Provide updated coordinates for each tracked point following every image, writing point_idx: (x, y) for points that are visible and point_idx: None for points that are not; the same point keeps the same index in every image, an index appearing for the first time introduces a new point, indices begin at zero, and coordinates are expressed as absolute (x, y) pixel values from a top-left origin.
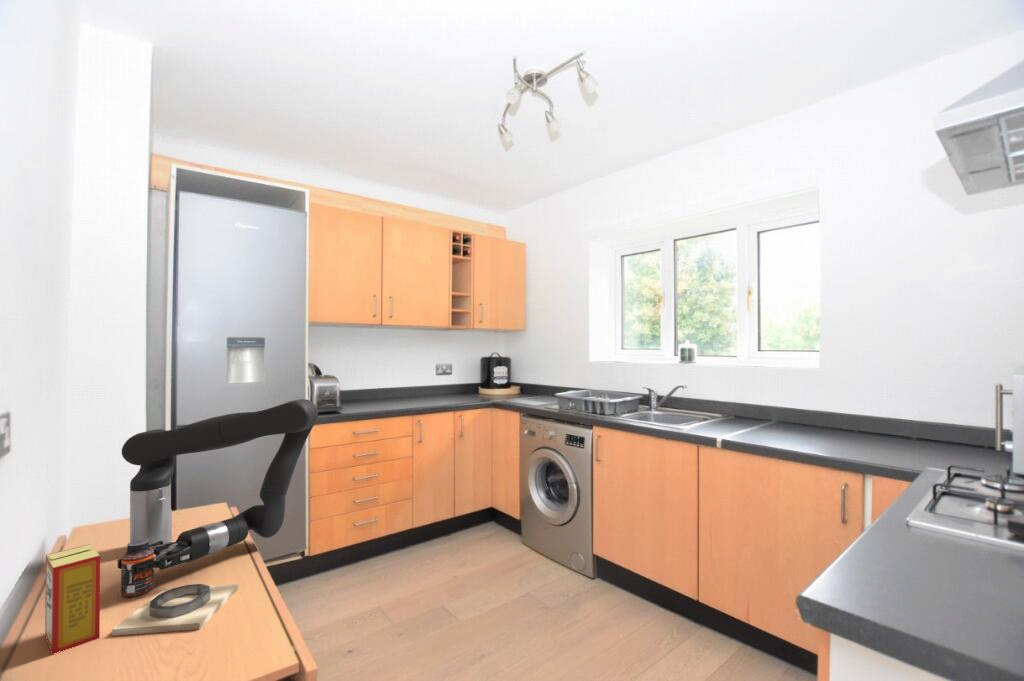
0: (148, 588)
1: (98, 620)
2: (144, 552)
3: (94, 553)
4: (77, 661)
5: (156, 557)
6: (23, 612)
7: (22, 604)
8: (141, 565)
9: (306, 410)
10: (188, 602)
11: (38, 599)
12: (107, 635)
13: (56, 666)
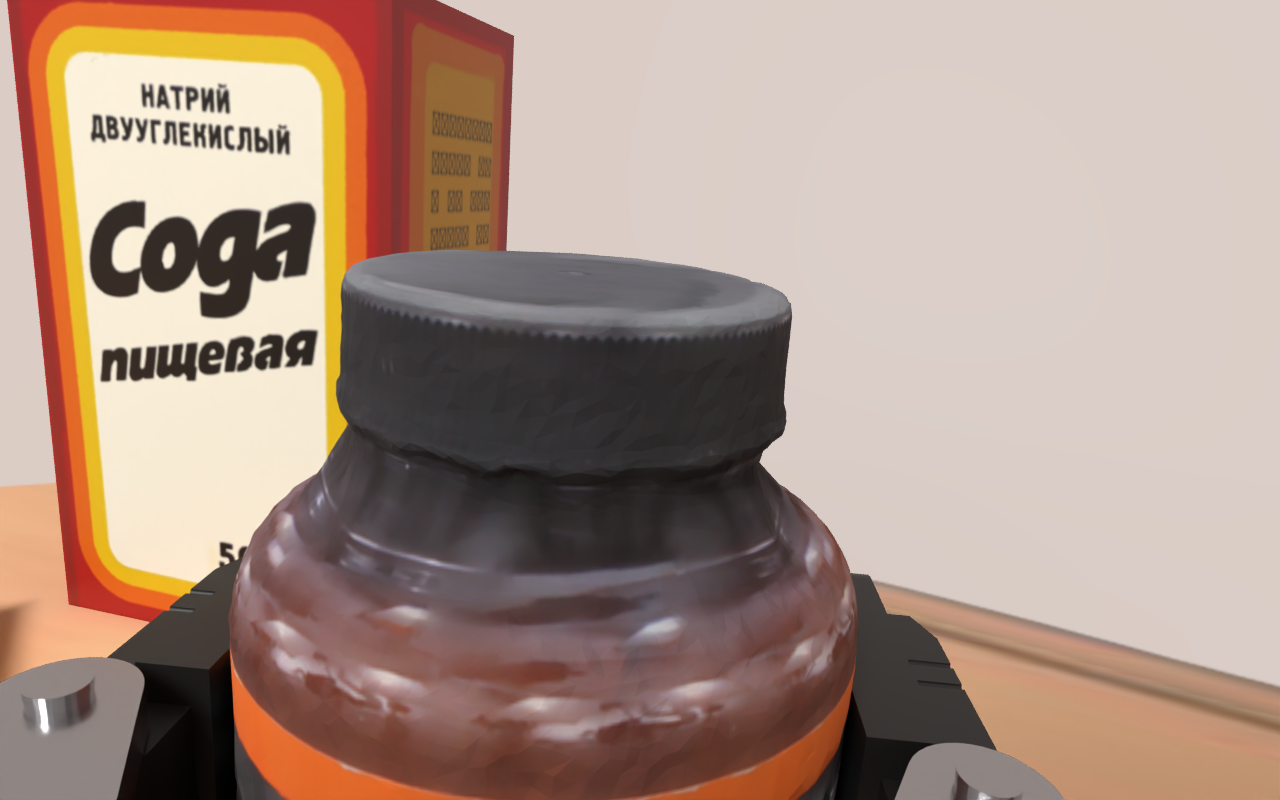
0: None
1: (61, 483)
2: (317, 473)
3: None
4: (15, 515)
5: (27, 694)
6: (1023, 633)
7: (1214, 670)
8: (207, 583)
9: None
10: None
11: (1261, 724)
12: (23, 623)
13: None
